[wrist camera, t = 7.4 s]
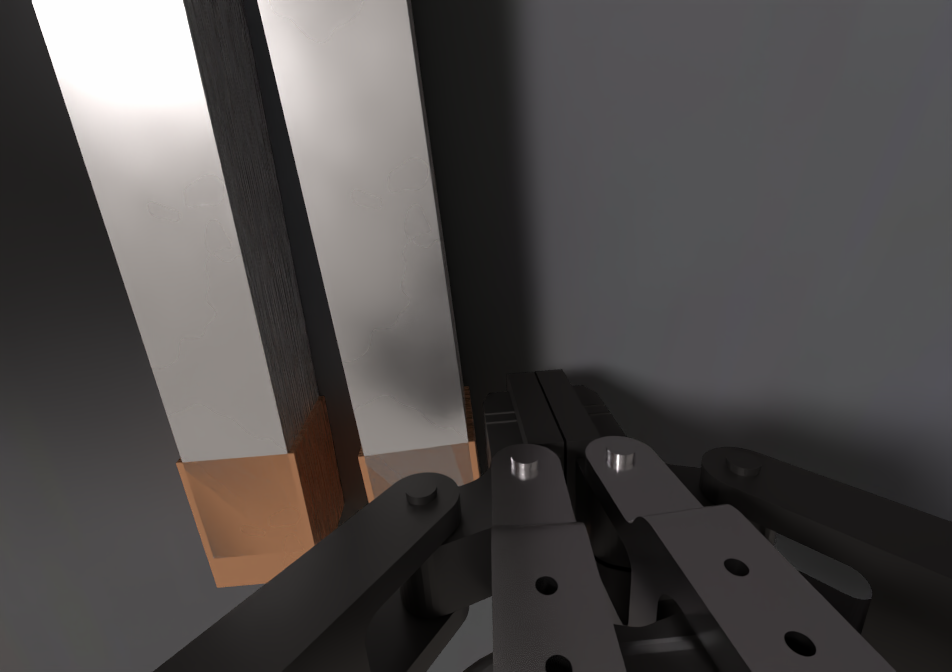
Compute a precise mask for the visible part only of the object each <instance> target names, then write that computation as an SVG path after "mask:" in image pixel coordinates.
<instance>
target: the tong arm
mask: <svg viewBox="0 0 952 672" xmlns="http://www.w3.org/2000/svg"><path fill="white" fill-rule="evenodd" d="M257 2H258V6H259V10H260V14H261V19H262V23H263V27H264V31H265V36H266V40H267V44H268V48H269V53H270V57H271V61H272V65H273V70H274V74H275V78H276V83H277V87H278V91H279V95H280V100H281V104H282V108H283V112H284V117H285V121H286V125H287V129H288V134H289V138H290V142H291V146H292V151H293V155H294V159H295V163H296V168H297V172H298V176H299V181H300V185H301V189H302V193H303V198H304V202H305V206H306V210H307V215H308V219H309V223H310V227H311V232H312V236H313V240H314V244H315V249H316V253H317V257H318V262H319V266H320V270H321V274H322V279H323V283H324V287H325V291H326V296H327V300H328V304H329V308H330V313H331V317H332V321H333V325H334V330H335V334H336V338H337V342H338V347H339V351H340V355H341V360H342V364H343V368H344V372H345V377H346V381H347V385H348V389H349V394H350V398H351V402H352V406H353V411H354V415H355V419H356V423H357V428H358V432H359V436H360V441H361V448H360V452H359V455H358V460H359V464H360V468H361V472H362V476H363V480H364V484H365V489H366V493H367V497H368V501H369V503H370V502H371V501H373V500H374V499H375V498H376V497H378V496H379V495H380V494H382V493H383V492H384V491H385V490H387V489H388V488H389V487H391V486H392V485H393V484H394V483H396V482H397V481H399V480H400V479H402V478H404V477H407V476H409V475H413V474H416V473H423V472H434V473H440V474H443V475H446V476H448V477H450V478H451V479H453V480H454V481H455V482H456V484H457V485H458V486H461V485H464V484H467V483H470V482H472V481H474V480H476V479H478V478H479V477H481V473H480V466H479V458H478V451H477V443H476V436H475V428H474V421H473V413H472V406H471V398H470V391H469V386H464V384H463V377H462V369H461V362H460V355H459V347H458V340H457V333H456V326H455V318H454V311H453V304H452V297H451V289H450V282H449V275H448V267H447V260H446V253H445V246H444V238H443V231H442V224H441V216H440V209H439V202H438V195H437V187H436V180H435V173H434V166H433V158H432V151H431V144H430V136H429V129H428V122H427V115H426V107H425V100H424V93H423V86H422V78H421V71H420V64H419V56H418V49H417V42H416V35H415V27H414V20H413V13H412V5H411V0H257Z"/></svg>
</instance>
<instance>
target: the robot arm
mask: <svg viewBox="0 0 952 672" xmlns="http://www.w3.org/2000/svg"><path fill="white" fill-rule="evenodd" d="M506 387H507V392H497V393H489V395H488V396H487V398H486V399H485V401H484V402H483V410H484V426H485V441H486V454H487V462H488V470H487V471H486V473H485V474H483V475H482V476H481V477H479V478H478V479H476V480H474V481H472V482H470V483H467V484H464V485H461V486H458V485H457V484H456V482H455V481H454V480H453V479H451V478H450V477H448V476H446V475H443V474H440V473H434V472H423V473H416V474H413V475H409V476H407V477H404V478H402V479H400V480H399V481H397V482H396V483H394V484H393V485H392V486H391V487H389V488H388V489H387V490H385V491H384V492H383V493H382V494H380V495H379V496H378V497H376V498H375V499H374V500H373V501H371V502H370V503H369V504H367V505H366V506H365V507H364V508H362V509H361V510H360V511H358V512H357V513H356V514H355V515H353V516H352V517H351V518H350V519H348V520H347V521H346V522H344V523H343V524H342V525H341V526H339V527H338V528H337V529H335V530H334V531H333V532H332V533H330V534H329V535H328V536H326V537H325V538H324V539H323V540H321V541H320V542H319V543H317V544H316V545H315V546H314V547H312V548H311V549H310V550H308V551H307V552H306V553H305V554H303V555H302V556H301V557H299V558H298V559H297V560H296V561H294V562H293V563H292V564H290V565H289V566H288V567H287V568H285V569H284V570H283V571H282V572H280V573H279V574H278V575H276V576H275V577H274V578H273V579H271V580H270V581H269V582H267V583H266V584H265V585H264V586H262V587H261V588H260V589H258V590H257V591H256V592H255V593H253V594H252V595H251V596H249V597H248V598H247V599H246V600H244V601H243V602H242V603H240V604H239V605H238V606H237V607H235V608H234V609H233V610H231V611H230V612H229V613H228V614H226V615H225V616H224V617H222V618H221V619H220V620H219V621H217V622H216V623H215V624H214V625H212V626H211V627H210V628H208V629H207V630H206V631H205V632H203V633H202V634H201V635H199V636H198V637H197V638H196V639H194V640H193V641H192V642H190V643H189V644H188V645H187V646H185V647H184V648H183V649H181V650H180V651H179V652H178V653H176V654H175V655H174V656H172V657H171V658H170V659H169V660H167V661H166V662H165V663H163V664H162V665H161V666H160V667H158V668H157V669H156V670H154V671H153V672H426V671H427V670H428V669H429V667H430V666H431V665H432V663H433V662H434V661H435V659H436V658H437V657H438V655H439V654H440V653H441V652H442V650H443V649H444V648H445V646H446V645H447V644H448V642H449V641H450V640H451V638H452V637H453V636H454V634H455V633H456V632H457V630H458V629H459V628H460V627H461V625H462V624H463V622H464V621H465V619H466V617H467V615H468V611H469V605H472V604H474V603H476V602H479V601H481V600H483V599H486V598H488V597H490V596H492V624H493V652H492V653H490V654H489V655H487V656H485V657H483V658H481V659H479V660H478V661H477V662H475V663H474V664H472V665H471V666H470V667H468V668H467V669H466V670H464V671H463V672H952V522H950V521H947V520H944V519H941V518H939V517H936V516H933V515H930V514H927V513H925V512H922V511H919V510H916V509H913V508H911V507H908V506H905V505H902V504H899V503H897V502H894V501H891V500H888V499H885V498H883V497H880V496H877V495H874V494H872V493H869V492H866V491H863V490H860V489H858V488H855V487H852V486H849V485H846V484H844V483H841V482H838V481H835V480H832V479H830V478H827V477H824V476H821V475H818V474H816V473H813V472H810V471H807V470H804V469H802V468H799V467H796V466H793V465H791V464H788V463H785V462H782V461H779V460H777V459H774V458H771V457H768V456H765V455H763V454H760V453H757V452H754V451H751V450H747V449H742V448H735V447H721V448H715V449H712V450H710V451H708V452H706V453H705V454H704V456H703V458H702V464H701V468H695V467H686V466H677V465H670V464H665V463H664V462H663V461H662V460H661V458H660V457H659V456H658V455H657V454H656V453H655V452H654V450H653V449H652V448H650V447H649V446H648V445H646V444H645V443H643V442H641V441H638V440H636V439H632V438H628V437H626V436H625V434H624V433H623V431H622V430H621V428H620V427H619V425H618V424H617V422H616V421H615V419H614V418H613V416H612V415H611V414H610V413H609V410H608V409H607V407H606V406H604V403H603V402H602V400H601V399H600V397H599V396H598V394H597V393H595V392H594V391H592V390H590V389H589V388H587V387H585V386H584V385H581V386H572V385H571V384H570V382H569V380H568V379H567V377H566V375H565V373H564V372H563V370H562V369H561V370H548V371H536V372H525V373H512V374H507V375H506ZM776 532H777V533H779V534H781V535H783V536H786V537H788V538H790V539H792V540H794V541H796V542H799V543H801V544H803V545H805V546H807V547H810V548H812V549H814V550H816V551H818V552H820V553H823V554H825V555H827V556H829V557H831V558H834V559H836V560H838V561H840V562H842V563H844V564H847V565H849V566H850V567H852V568H854V569H855V570H857V571H858V572H859V573H861V574H862V575H863V576H864V577H865V578H866V580H867V581H868V583H869V584H870V586H871V589H872V599H868V600H861V599H856V598H853V597H851V596H848V595H846V594H844V593H842V592H840V591H838V590H836V589H834V588H832V587H830V586H828V585H826V584H824V583H822V582H820V581H818V580H816V579H814V578H812V577H810V576H808V575H806V574H804V573H802V572H800V571H798V570H796V569H795V568H794V567H793V566H792V564H791V563H790V562H789V561H788V560H787V559H786V558H785V557H784V556H783V555H782V554H781V553H780V552H779V551H778V550H777V549H776V548H775V547H774V542H775V537H776Z"/></svg>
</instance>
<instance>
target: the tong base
mask: <svg viewBox="0 0 952 672" xmlns="http://www.w3.org/2000/svg"><path fill="white" fill-rule="evenodd" d="M32 3H33V6H34V9H35V12H36V15H37V18H38V21H39V24H40V27H41V30H42V33H43V36H44V39H45V42H46V46H47V49H48V52H49V55H50V58H51V61H52V64H53V67H54V70H55V73H56V76H57V79H58V82H59V85H60V88H61V92H62V95H63V98H64V101H65V104H66V107H67V110H68V113H69V116H70V119H71V122H72V125H73V128H74V131H75V134H76V138H77V141H78V144H79V147H80V150H81V153H82V156H83V159H84V162H85V165H86V168H87V171H88V174H89V177H90V181H91V184H92V187H93V190H94V193H95V196H96V199H97V202H98V205H99V208H100V211H101V214H102V217H103V220H104V223H105V227H106V230H107V233H108V236H109V239H110V242H111V245H112V248H113V251H114V254H115V257H116V260H117V263H118V266H119V269H120V273H121V276H122V279H123V282H124V285H125V288H126V291H127V294H128V297H129V300H130V303H131V306H132V309H133V312H134V316H135V319H136V322H137V325H138V328H139V331H140V334H141V337H142V340H143V343H144V346H145V349H146V352H147V355H148V358H149V362H150V365H151V368H152V371H153V374H154V377H155V380H156V383H157V386H158V389H159V392H160V395H161V398H162V401H163V404H164V408H165V411H166V414H167V417H168V420H169V423H170V426H171V429H172V432H173V435H174V438H175V441H176V444H177V447H178V450H179V454H180V457H181V458H180V459H179V460H178V461H177V462H176V464H177V467H178V470H179V473H180V476H181V479H182V482H183V485H184V489H185V492H186V495H187V498H188V501H189V504H190V507H191V510H192V513H193V516H194V519H195V522H196V525H197V528H198V531H199V534H200V537H201V540H202V543H203V546H204V549H205V552H206V555H207V558H208V561H209V564H210V567H211V570H212V573H213V576H214V579H215V582H216V585H217V588H219V587H230V586H241V585H252V584H263V583H267V582H269V581H270V580H271V579H273V578H274V577H275V576H276V575H278V574H279V573H280V572H282V571H283V570H284V569H285V568H287V567H288V566H289V565H290V564H292V563H293V562H294V561H296V560H297V559H298V558H299V557H301V556H302V555H303V554H305V553H306V552H307V551H308V550H310V549H311V548H312V547H314V546H315V545H316V544H317V543H319V542H320V541H321V540H323V539H324V538H325V537H326V536H328V535H329V534H330V533H332V532H333V531H334V530H335V529H337V527H338V523H339V520H340V517H341V513H342V510H343V507H344V497H343V492H342V487H341V482H340V476H339V471H338V466H337V460H336V455H335V450H334V445H333V439H332V434H331V429H330V424H329V418H328V413H327V408H326V402H325V397H324V396H319V392H318V387H317V382H316V377H315V372H314V366H313V361H312V356H311V351H310V346H309V341H308V336H307V330H306V325H305V320H304V315H303V310H302V305H301V299H300V294H299V289H298V284H297V279H296V274H295V268H294V263H293V258H292V253H291V248H290V243H289V237H288V232H287V227H286V222H285V217H284V212H283V206H282V201H281V196H280V191H279V186H278V181H277V175H276V170H275V165H274V160H273V155H272V150H271V144H270V139H269V134H268V129H267V124H266V119H265V113H264V108H263V103H262V98H261V93H260V88H259V82H258V77H257V72H256V67H255V62H254V57H253V51H252V46H251V41H250V36H249V31H248V26H247V20H246V15H245V10H244V5H243V0H32Z"/></svg>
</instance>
